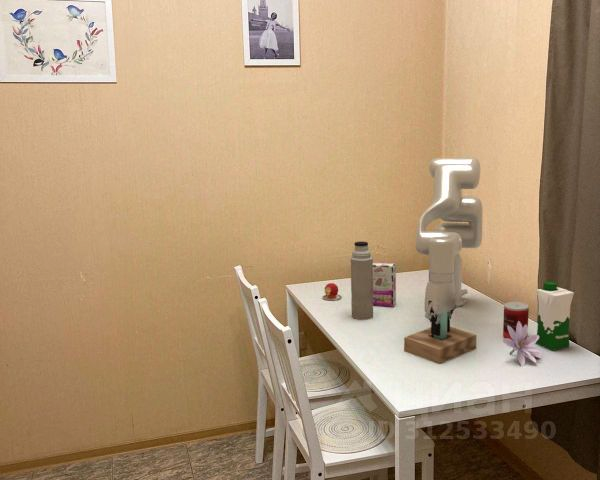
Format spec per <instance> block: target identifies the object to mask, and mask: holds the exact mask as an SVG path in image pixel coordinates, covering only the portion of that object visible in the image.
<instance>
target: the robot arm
mask: <svg viewBox="0 0 600 480" xmlns="http://www.w3.org/2000/svg"><path fill="white" fill-rule="evenodd" d="M428 168H429V169H428V170H429V173H430V175H431V177H432V178H433V194H432V203H431V205H429V206H428V207H427V208H426V209H425V210H424V211H423V212H422V214H421V215H420V216H419V218H418V221H417V225H416V232H415V249H416V251H417V253H418V254H420V255H426V256H428V281H427V282H426V288H425V293H424V294H425V295H424V306H423V307H424V312H425V313H424V317H425V318H426V319H428V320H429V323H430V328H431V334H433V335H437V336H440V323H439V319H440V314H442V313H444V312H447V332H450V327H451V320H452V315H453V313H454V311H455V309H457V308H458V307H462V306H464V305H465V304H466V299H465V298H464V297H463V296H465V295H467V294H468V293H469V291H468V289H467V288H464V289H462V284H463V283H462V281H463V280H462V278H463V277H462V275H463V272H462V271H463V270H462V269H463V259H462V256H461V255H460V251H461V250H462V249H478V248H479V247H480V246H481V245H482V241H483V214H484V211H483V203H482V201H481V199H480V198H479V197H477V196H463V195H462V191H463V190H475V189H476V188H478V186H479V184H480V178H481V163H480V160H479V159H478V158H476V157H437V158H433V159H432V160H430V161H429V166H428ZM439 219H440V220H441V221H444V222H441V223H439V224H437V225H436V226H435V228H434V231H429V230H428V231H427V230H426V229H427V226H429V224H431V223H432V222H434V221H436V220H439ZM434 315H436V318H435V317H434Z"/></svg>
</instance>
